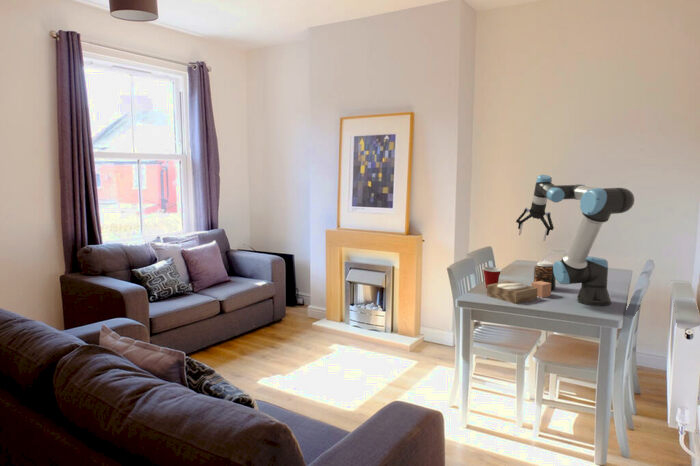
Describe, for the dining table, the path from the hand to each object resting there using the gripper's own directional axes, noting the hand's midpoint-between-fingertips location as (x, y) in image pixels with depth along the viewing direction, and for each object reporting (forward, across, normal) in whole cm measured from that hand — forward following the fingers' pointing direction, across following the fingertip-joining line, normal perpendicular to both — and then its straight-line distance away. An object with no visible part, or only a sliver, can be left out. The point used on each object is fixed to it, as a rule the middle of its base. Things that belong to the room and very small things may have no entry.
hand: (531, 237), depth 280 cm
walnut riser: (+22, 0, +34) cm, 41 cm away
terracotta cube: (+22, -13, +24) cm, 35 cm away
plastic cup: (+29, +14, +20) cm, 37 cm away
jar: (+26, -13, +8) cm, 31 cm away
